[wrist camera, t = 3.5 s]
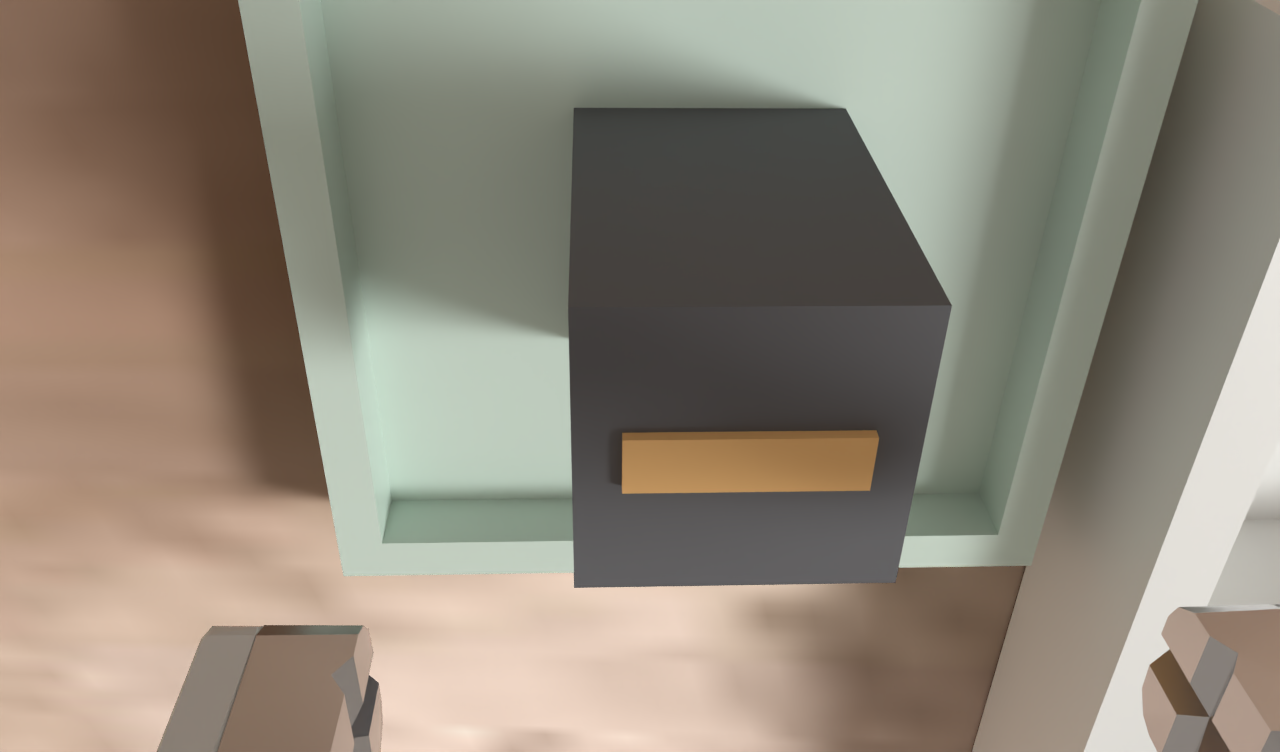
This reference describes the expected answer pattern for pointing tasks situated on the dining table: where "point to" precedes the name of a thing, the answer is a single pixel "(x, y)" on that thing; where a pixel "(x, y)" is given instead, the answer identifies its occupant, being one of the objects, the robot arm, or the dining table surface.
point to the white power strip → (1165, 415)
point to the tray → (541, 214)
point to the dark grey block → (742, 350)
